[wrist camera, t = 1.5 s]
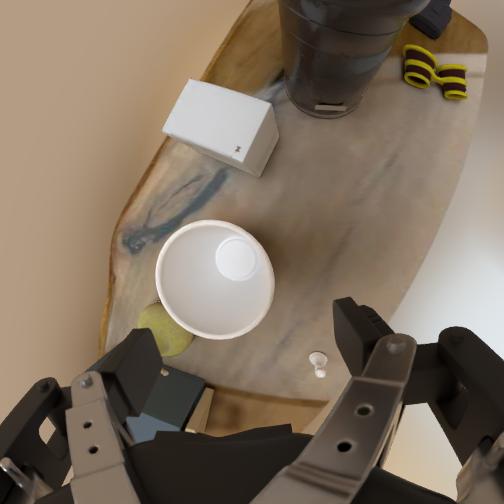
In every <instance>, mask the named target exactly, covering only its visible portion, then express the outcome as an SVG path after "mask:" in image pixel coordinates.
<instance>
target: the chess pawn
mask: <svg viewBox="0 0 504 504" xmlns="http://www.w3.org/2000/svg"><path fill="white" fill-rule="evenodd" d="M309 360H310V362H311V363H312V364H313V365H314V366H316V367H315V374H316V376H317V377H319V378H323V377H325V376H326V372H325V368H324V367H323V366H325V365H326V363H327V357H326V356H325V355H324V354H322V353H320V352H314V353H312V354H311V355H310V357H309Z"/></svg>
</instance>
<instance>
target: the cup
mask: <svg viewBox="0 0 504 504" xmlns="http://www.w3.org/2000/svg"><path fill="white" fill-rule="evenodd" d="M155 274H156V286H157V290H158V294H159V297H160V299H161V301H162V304H163V306H164V307H165V309H166V310H167V312H168V313H169V315H170V316H171V317H172V318H173V319H174V320H175V321H176V322H177V323H178V324H179V325H180V326H182V327H183V328H184V329H186V330H187V331H189V332H191V333H193V334H195V335H198V336H201V337H204V338H208V339H217V340H221V339H231V338H234V337H238V336H241V335H243V334H245V333H247V332H249V331H251V330H252V329H253V328H254V327H255V326H257V325H258V324H259V323H260V322H261V320H262V319H263V318H264V317H265V315H266V314H267V312H268V310H269V308H270V306H271V303H272V299H273V295H274V286H275V279H274V273H273V268H272V265H271V262H270V260H269V257H268V255H267V253H266V252H265V250H264V249H263V247H262V246H261V244H260V243H259V242H258V241H257V240H256V239H255V238H254V237H253V236H252V235H251V234H249V233H248V232H247V231H245V230H244V229H242V228H241V227H239V226H236V225H234V224H232V223H230V222H225V221H220V220H201V221H196V222H192V223H190V224H188V225H186V226H183V227H182V228H180V229H179V230H178V231H176V232H175V233H173V235H172V236H171V237H170V238H169V239H168V240H167V241H166V243H165V244H164V246H163V248H162V250H161V251H160V254H159V257H158V260H157V265H156V273H155Z"/></svg>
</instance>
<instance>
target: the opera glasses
mask: <svg viewBox="0 0 504 504" xmlns="http://www.w3.org/2000/svg"><path fill="white" fill-rule="evenodd" d="M403 54H404V56H405V57H406V61H405V69H406V70H405V72H406V73H405V75H404V79H405V80H406V81H407V82H408V83H410V84H412V85H414V86H416V87H420V88H428V87H429V86H430V82H429V81H430V80H432V81H435V82H437V83H439V84H441V85H442V86H443V89H444V90H445V92H444V96H445V97H446V98H450V99H458V100H462V99H467V94H466V93H465V91H466V89H465V87H466V80H465V72H466V71H467V68H466V67H465V66H464V65H460V64H446V65H441V66H438V62H437V60H436V58H435V57H434V56H433V55H432V54H431V53H430V52H429V51H427V50H425V49H424V48H422V47H419V46H416V45H406V46H404V48H403ZM429 57H430V58H429ZM437 66H438V67H437ZM433 69H436V70H435V71H436V73H437V74H438V75H439V76H440V77H437V76H436V75H435V73H434V71H433Z"/></svg>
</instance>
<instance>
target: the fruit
mask: <svg viewBox="0 0 504 504" xmlns="http://www.w3.org/2000/svg"><path fill="white" fill-rule="evenodd" d="M137 328H150V329H151V330H152V333H153V335H154V338H155V341H156V343H157V346H158V349H159V351H160V354H161V357H171V356H175V355H178V354H180V353H182V352H183V351H184V350H185V349H186V348H187V347H188V346H189V344H190V343H191V341H192V339H193V333H191V332H189V331H187V330H186V329H184V328H183V327H182V326H180V325H179V324H178V323H177V322H176V321H175V320H174V319H173V318H172V317H171V316H170V315H169V313H168V312H167V310H166V309H165V307H164V306H163V304H162V303H155V304H152V305H149V306H147V307H146V308H145V309H144V310H143V311H142V312H141V314H140V316H139V318H138V322H137ZM161 373H162V374H163V375H164V376H168V374H169V372H168V371H166V370H164V369H163V368H162V370H161Z"/></svg>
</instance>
